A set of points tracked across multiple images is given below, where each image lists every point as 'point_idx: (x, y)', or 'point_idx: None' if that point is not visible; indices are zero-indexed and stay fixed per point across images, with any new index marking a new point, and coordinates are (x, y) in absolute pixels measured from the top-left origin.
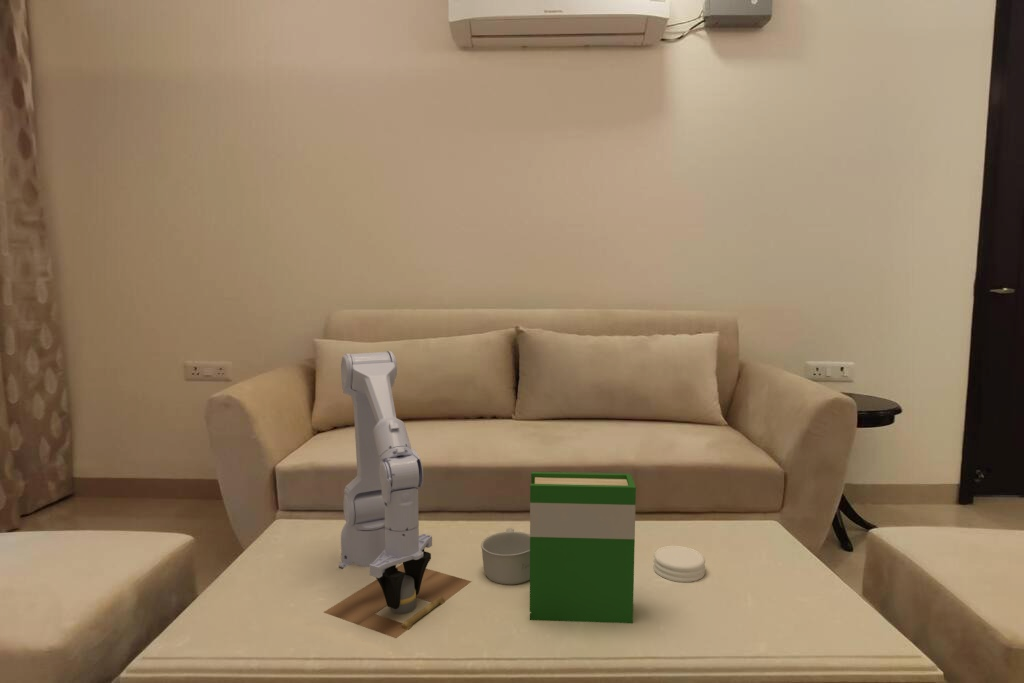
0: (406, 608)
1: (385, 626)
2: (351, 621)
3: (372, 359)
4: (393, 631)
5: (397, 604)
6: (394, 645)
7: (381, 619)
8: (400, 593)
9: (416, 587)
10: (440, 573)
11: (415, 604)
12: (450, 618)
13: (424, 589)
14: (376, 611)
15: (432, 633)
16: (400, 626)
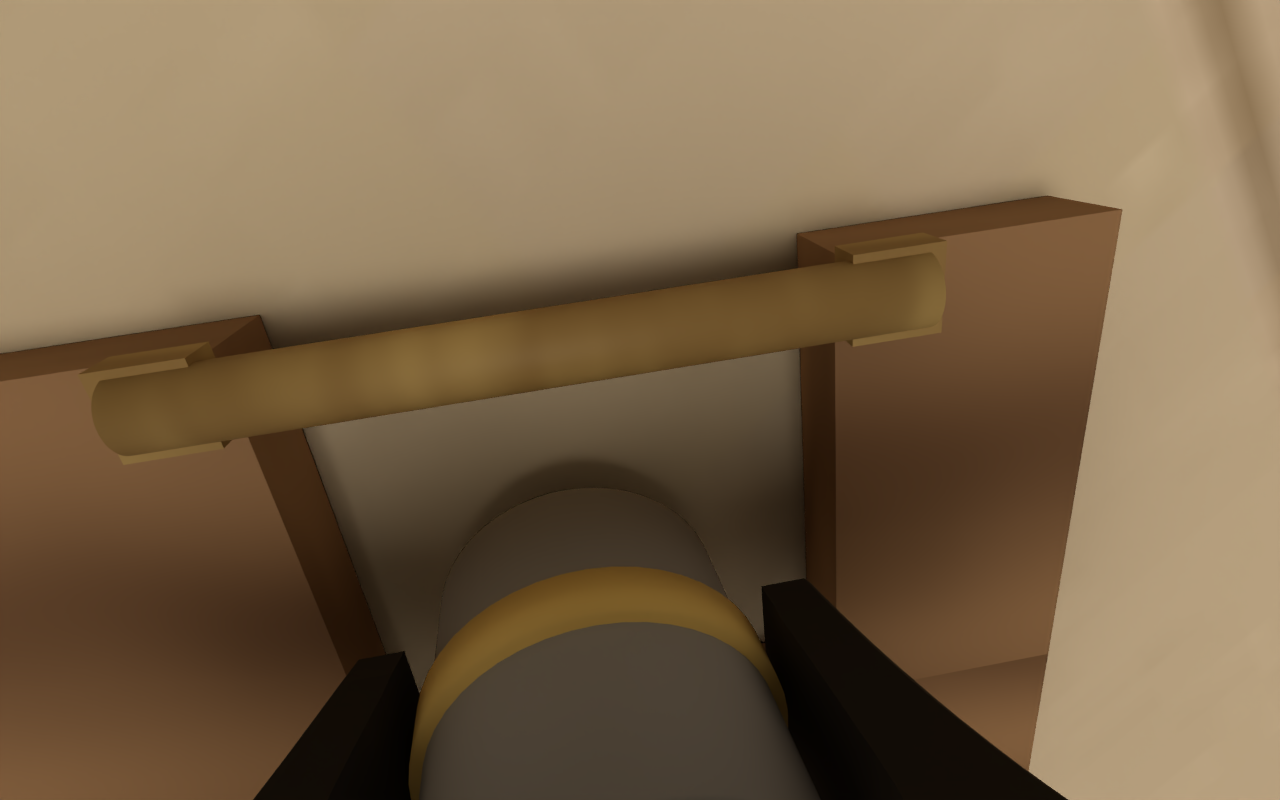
0: (659, 538)
1: (973, 469)
2: (1031, 720)
3: None
4: (1020, 335)
5: (832, 609)
6: None
7: (884, 587)
8: (781, 738)
9: (373, 747)
10: None
11: (495, 544)
12: (236, 118)
13: (156, 722)
14: None
15: (639, 55)
16: (902, 353)
